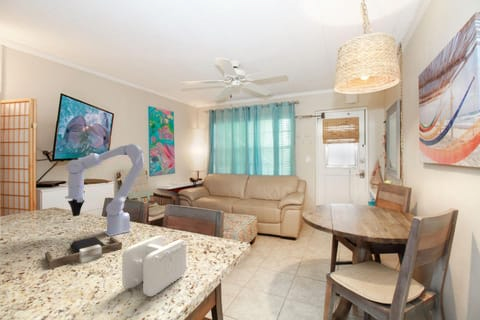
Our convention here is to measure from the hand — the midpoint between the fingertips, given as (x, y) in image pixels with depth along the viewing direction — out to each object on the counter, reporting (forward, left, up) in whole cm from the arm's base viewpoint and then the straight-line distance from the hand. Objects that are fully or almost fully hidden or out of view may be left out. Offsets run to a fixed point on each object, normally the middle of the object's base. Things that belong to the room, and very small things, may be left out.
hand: (76, 215), depth 102 cm
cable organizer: (-7, +63, -10) cm, 64 cm away
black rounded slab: (+1, +21, -10) cm, 23 cm away
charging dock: (+2, +26, -9) cm, 28 cm away
